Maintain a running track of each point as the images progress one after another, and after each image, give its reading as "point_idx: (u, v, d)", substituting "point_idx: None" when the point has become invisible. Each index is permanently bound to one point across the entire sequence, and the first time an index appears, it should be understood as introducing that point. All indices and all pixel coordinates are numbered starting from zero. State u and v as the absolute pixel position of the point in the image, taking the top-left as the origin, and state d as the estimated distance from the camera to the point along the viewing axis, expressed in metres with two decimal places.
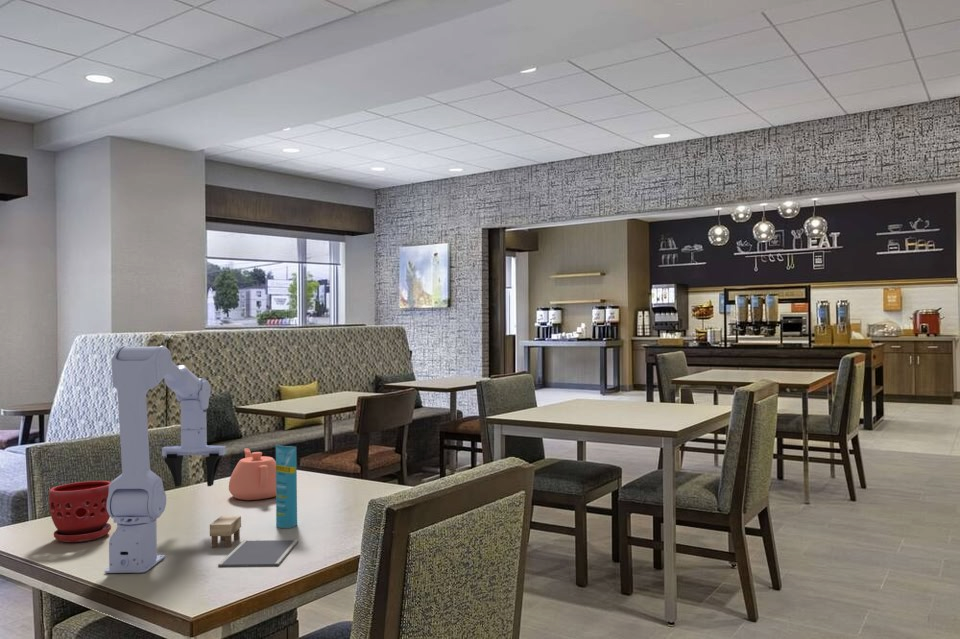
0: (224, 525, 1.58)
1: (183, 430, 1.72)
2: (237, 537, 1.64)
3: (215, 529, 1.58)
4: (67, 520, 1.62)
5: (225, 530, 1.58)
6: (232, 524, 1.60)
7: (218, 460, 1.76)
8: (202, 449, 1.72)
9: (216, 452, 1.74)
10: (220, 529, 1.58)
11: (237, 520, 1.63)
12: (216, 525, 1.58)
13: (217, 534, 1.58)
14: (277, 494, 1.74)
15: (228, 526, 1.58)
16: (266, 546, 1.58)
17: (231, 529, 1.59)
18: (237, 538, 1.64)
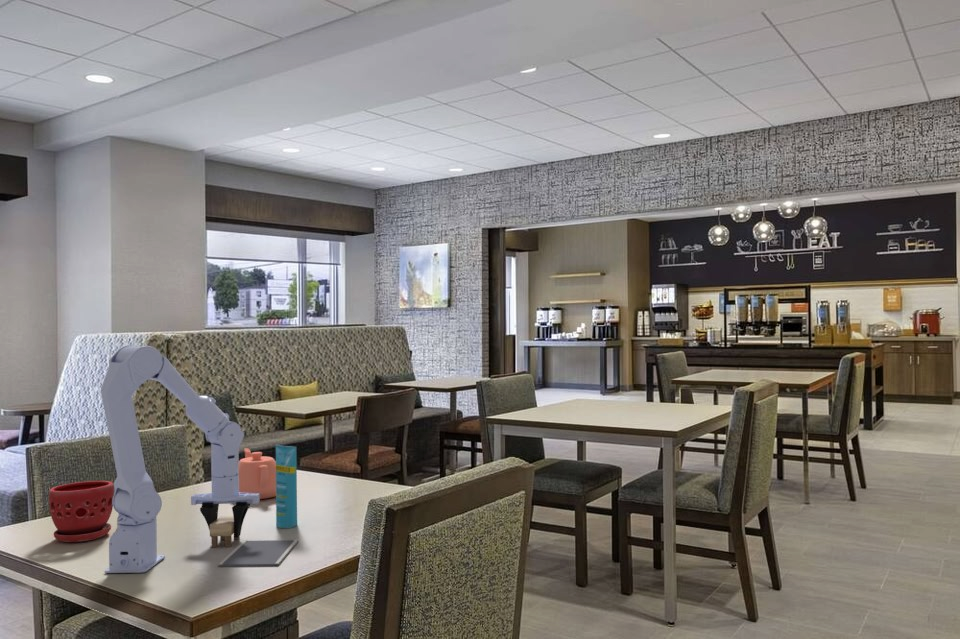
0: (224, 525, 1.58)
1: (214, 477, 1.59)
2: (237, 537, 1.64)
3: (215, 529, 1.58)
4: (67, 520, 1.62)
5: (225, 530, 1.58)
6: (232, 524, 1.60)
7: (245, 509, 1.63)
8: (234, 498, 1.60)
9: (249, 500, 1.61)
10: (220, 529, 1.58)
11: None
12: (216, 525, 1.58)
13: (217, 534, 1.58)
14: (277, 494, 1.74)
15: (228, 526, 1.58)
16: (266, 546, 1.58)
17: (231, 529, 1.59)
18: (237, 538, 1.64)
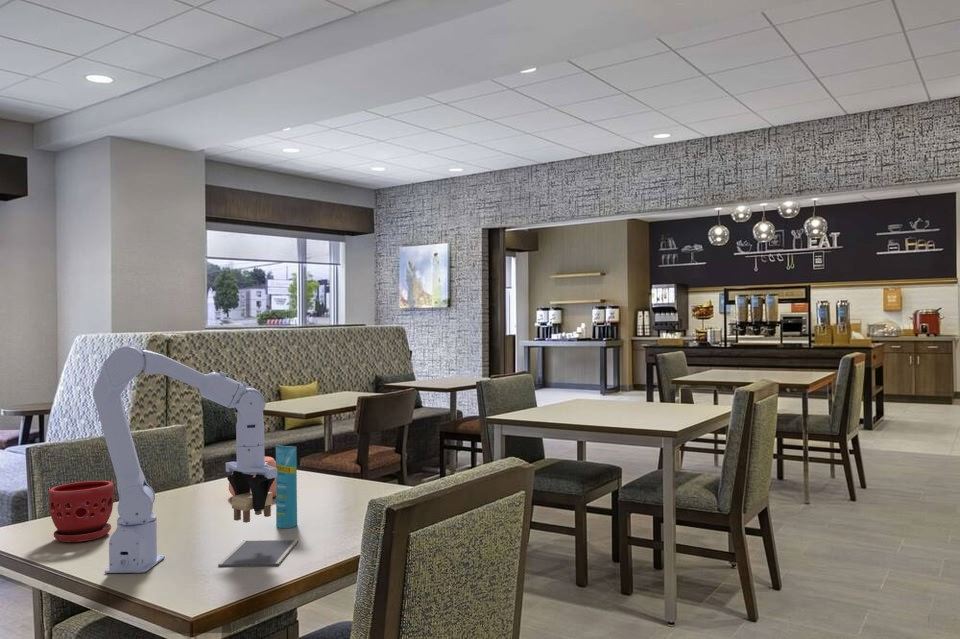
0: (241, 499, 1.53)
1: (236, 446, 1.55)
2: (266, 514, 1.57)
3: (235, 502, 1.54)
4: (67, 520, 1.62)
5: (242, 504, 1.53)
6: (250, 499, 1.53)
7: (268, 482, 1.55)
8: (250, 469, 1.52)
9: (266, 474, 1.52)
10: (238, 502, 1.53)
11: None
12: (236, 498, 1.54)
13: (236, 507, 1.54)
14: (277, 494, 1.74)
15: (244, 500, 1.52)
16: (266, 546, 1.58)
17: (248, 504, 1.52)
18: (266, 515, 1.57)
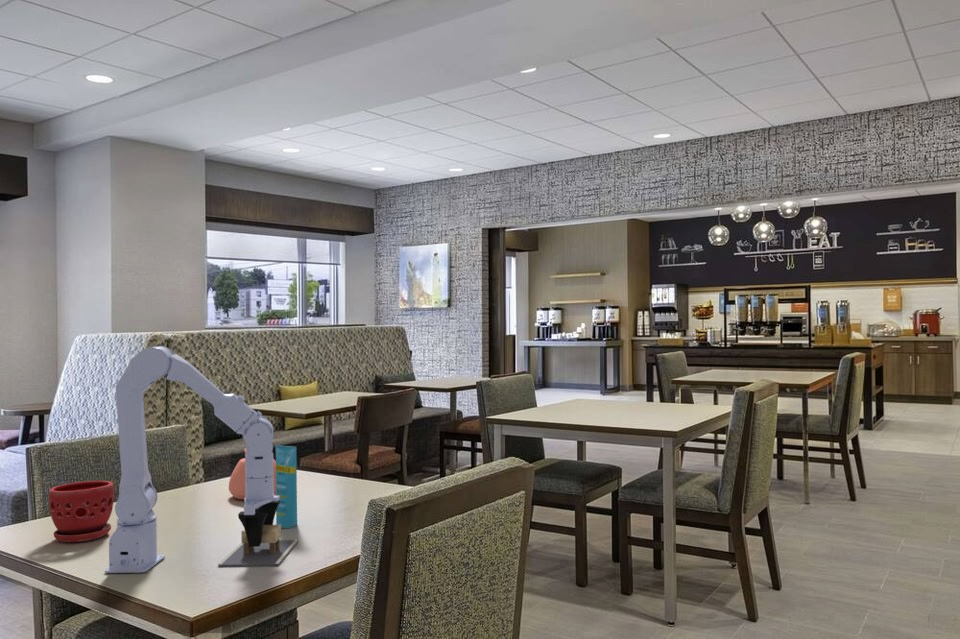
0: None
1: None
2: (270, 551, 1.52)
3: None
4: (67, 520, 1.62)
5: None
6: None
7: (257, 520, 1.49)
8: None
9: None
10: None
11: (263, 532, 1.52)
12: None
13: None
14: (277, 494, 1.74)
15: None
16: (266, 546, 1.58)
17: (244, 537, 1.52)
18: (270, 552, 1.52)
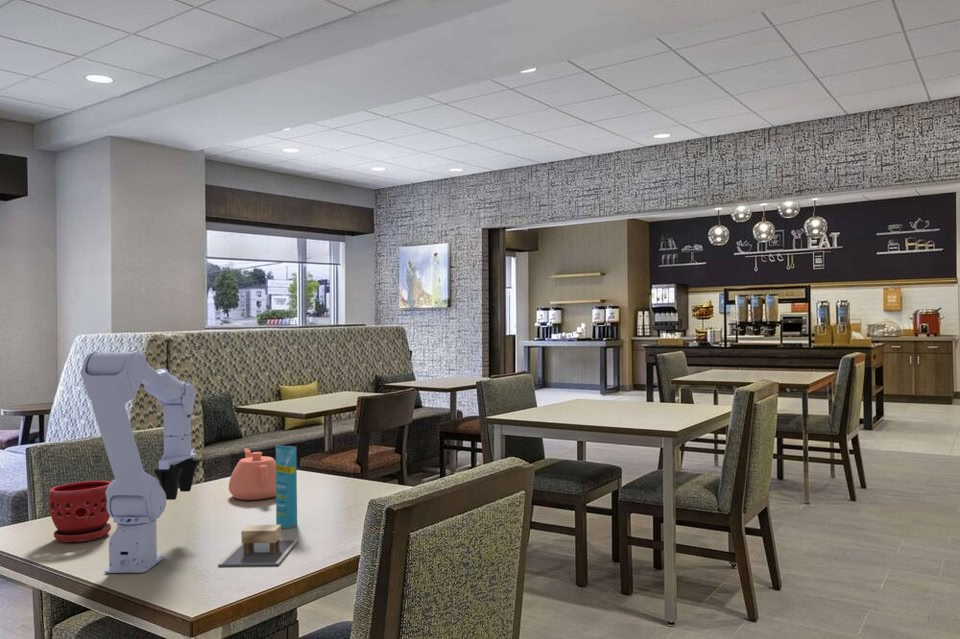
0: None
1: None
2: (270, 551, 1.52)
3: None
4: (67, 520, 1.62)
5: None
6: (247, 532, 1.52)
7: None
8: (162, 458, 1.62)
9: None
10: None
11: (263, 532, 1.52)
12: None
13: None
14: (277, 494, 1.74)
15: None
16: (266, 546, 1.58)
17: (244, 537, 1.52)
18: (270, 552, 1.52)
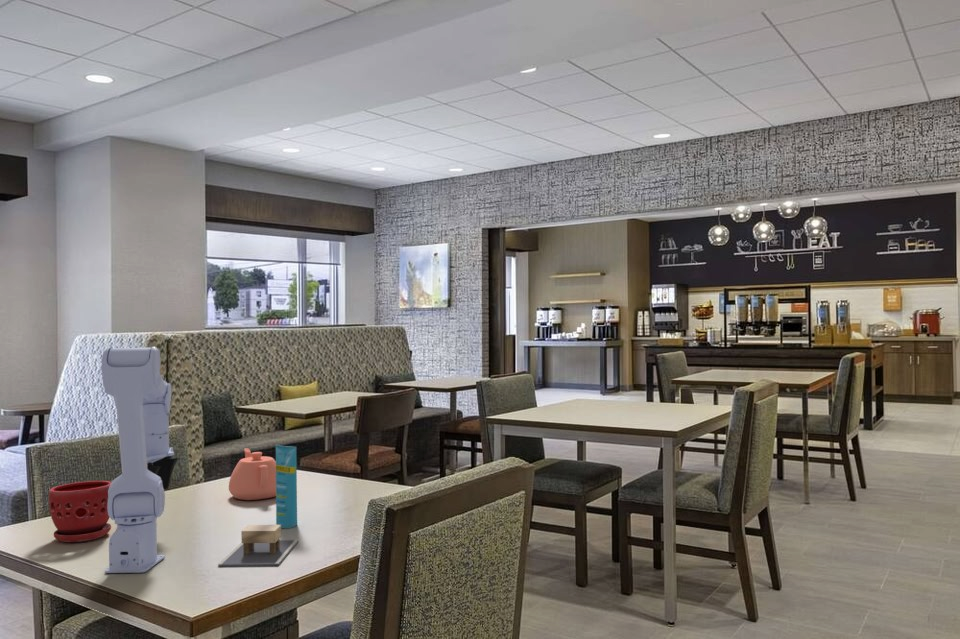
0: None
1: None
2: (270, 551, 1.52)
3: None
4: (67, 520, 1.62)
5: None
6: (247, 532, 1.52)
7: None
8: None
9: None
10: None
11: (263, 532, 1.52)
12: None
13: None
14: (277, 494, 1.74)
15: None
16: (266, 546, 1.58)
17: (244, 537, 1.52)
18: (270, 552, 1.52)
